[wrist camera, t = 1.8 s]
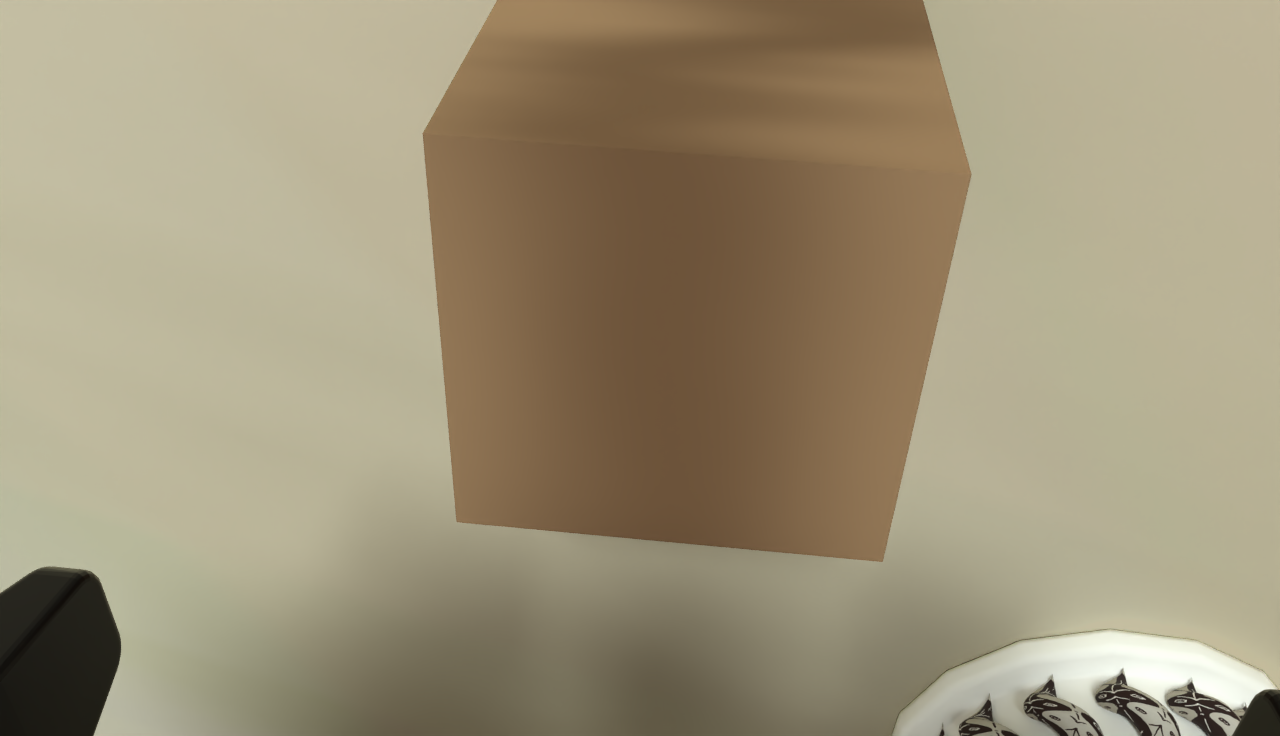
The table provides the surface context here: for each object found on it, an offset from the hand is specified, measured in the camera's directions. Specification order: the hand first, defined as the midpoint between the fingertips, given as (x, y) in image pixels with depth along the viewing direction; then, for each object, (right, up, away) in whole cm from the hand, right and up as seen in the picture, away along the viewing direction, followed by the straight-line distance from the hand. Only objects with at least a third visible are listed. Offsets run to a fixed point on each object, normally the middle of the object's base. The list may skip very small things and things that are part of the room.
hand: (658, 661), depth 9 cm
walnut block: (+1, +6, +8) cm, 10 cm away
